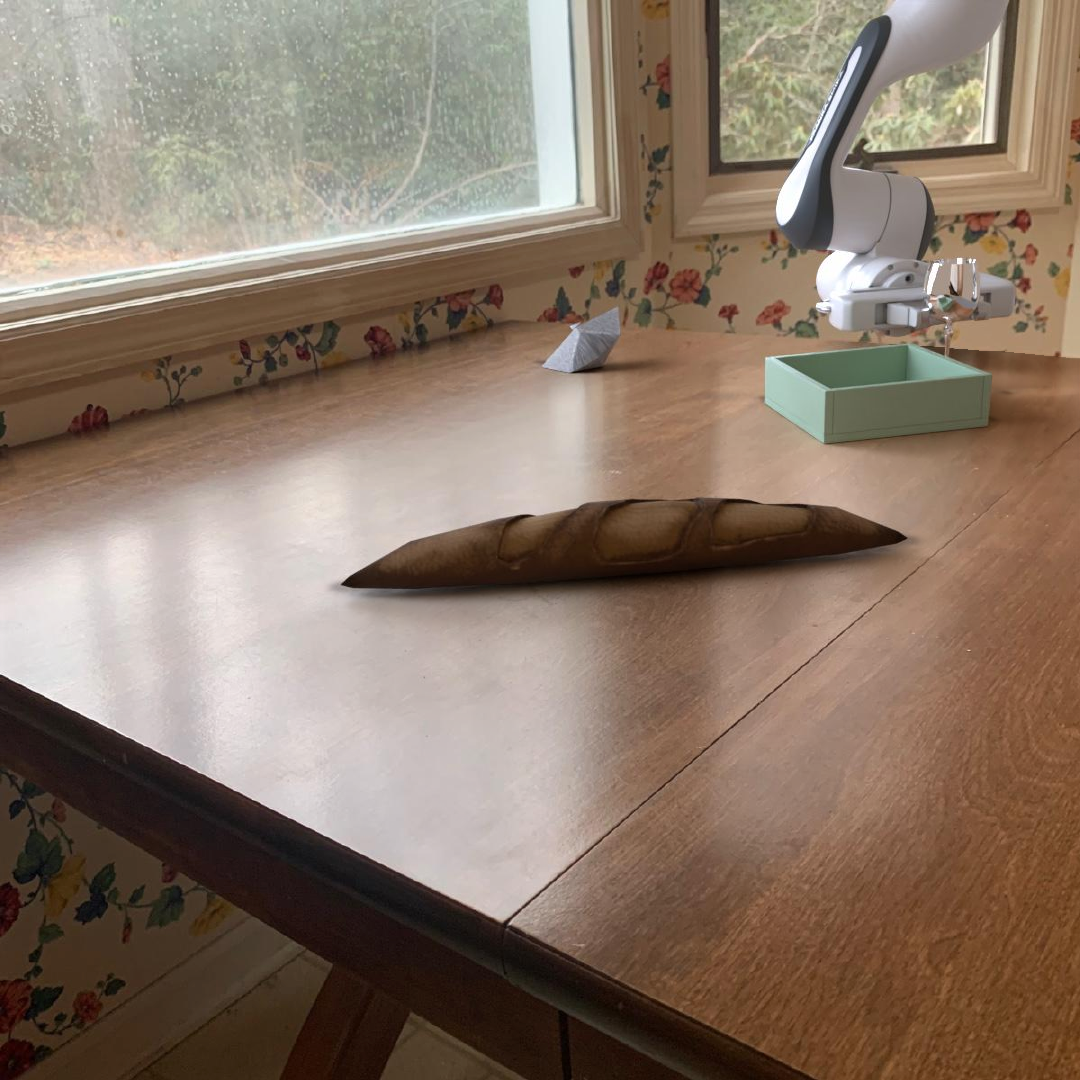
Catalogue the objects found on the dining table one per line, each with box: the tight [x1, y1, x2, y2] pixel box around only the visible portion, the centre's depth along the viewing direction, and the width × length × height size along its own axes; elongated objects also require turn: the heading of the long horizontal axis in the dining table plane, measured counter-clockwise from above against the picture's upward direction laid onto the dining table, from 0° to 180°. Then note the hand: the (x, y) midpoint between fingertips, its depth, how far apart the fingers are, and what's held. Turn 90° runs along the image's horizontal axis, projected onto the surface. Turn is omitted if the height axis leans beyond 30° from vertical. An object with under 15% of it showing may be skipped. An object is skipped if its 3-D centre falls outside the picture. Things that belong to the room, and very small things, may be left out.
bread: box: [340, 496, 909, 590], centre depth 72 cm, size 38×5×5 cm, turn 93°
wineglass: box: [922, 257, 981, 358], centre depth 116 cm, size 6×6×12 cm
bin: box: [764, 342, 993, 445], centre depth 104 cm, size 16×16×5 cm
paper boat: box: [541, 306, 621, 374], centre depth 133 cm, size 12×6×9 cm
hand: (954, 315), depth 115 cm, fingers closed on wineglass, 5 cm apart
